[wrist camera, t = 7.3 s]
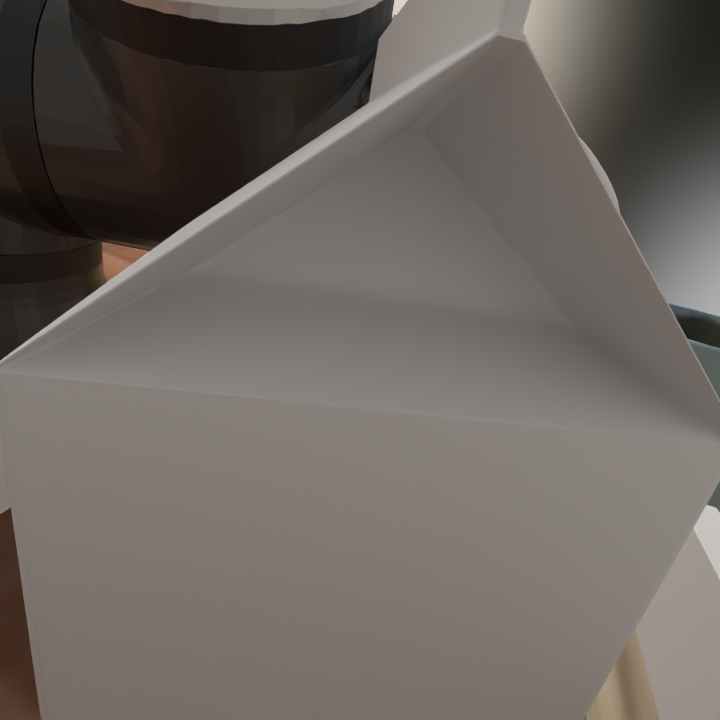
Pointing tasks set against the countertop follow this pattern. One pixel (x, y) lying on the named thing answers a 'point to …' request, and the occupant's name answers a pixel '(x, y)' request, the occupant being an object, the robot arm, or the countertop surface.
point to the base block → (626, 689)
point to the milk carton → (366, 423)
